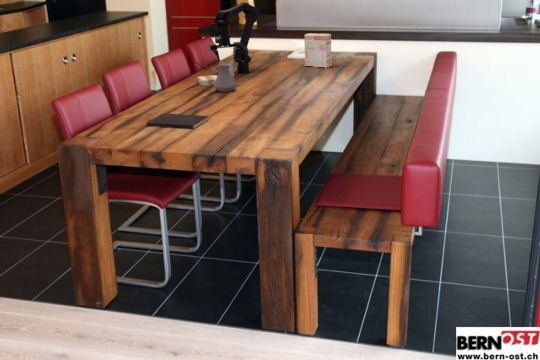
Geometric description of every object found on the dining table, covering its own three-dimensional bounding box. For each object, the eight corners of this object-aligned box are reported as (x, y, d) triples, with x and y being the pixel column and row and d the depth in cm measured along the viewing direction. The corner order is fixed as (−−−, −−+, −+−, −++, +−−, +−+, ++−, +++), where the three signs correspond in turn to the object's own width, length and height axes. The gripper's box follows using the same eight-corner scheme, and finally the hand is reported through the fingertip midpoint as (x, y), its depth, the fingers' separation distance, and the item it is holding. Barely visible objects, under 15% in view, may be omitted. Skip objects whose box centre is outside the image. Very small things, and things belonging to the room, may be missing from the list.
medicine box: (234, 76, 408) (233, 61, 405) (233, 77, 404) (232, 62, 401) (221, 76, 409) (220, 61, 406) (219, 77, 405) (218, 62, 402)
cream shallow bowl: (217, 80, 399) (217, 74, 398) (222, 84, 388) (222, 78, 387) (197, 82, 396) (196, 76, 395) (201, 86, 385) (201, 80, 384)
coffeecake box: (331, 66, 424) (331, 33, 418) (326, 68, 419) (326, 35, 412) (310, 64, 432) (309, 32, 426) (304, 66, 427) (303, 34, 420)
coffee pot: (238, 88, 377) (236, 60, 372) (233, 93, 366) (231, 64, 361) (200, 87, 381) (198, 60, 376) (193, 92, 371) (191, 64, 366)
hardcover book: (163, 118, 325) (163, 113, 324) (208, 120, 318) (208, 115, 317) (146, 127, 311) (146, 122, 310) (193, 130, 304) (192, 125, 303)
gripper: (236, 30, 408) (238, 57, 413) (205, 33, 403) (207, 60, 408) (241, 33, 398) (243, 60, 403) (209, 35, 393) (211, 63, 398)
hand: (226, 61), depth 403 cm, fingers open, 9 cm apart
